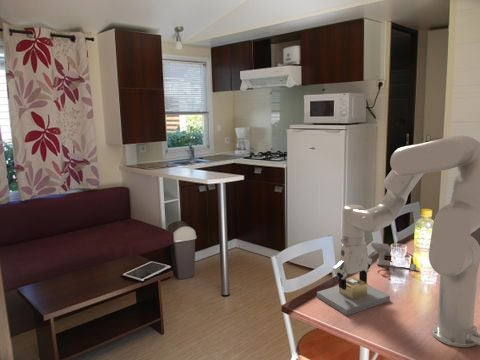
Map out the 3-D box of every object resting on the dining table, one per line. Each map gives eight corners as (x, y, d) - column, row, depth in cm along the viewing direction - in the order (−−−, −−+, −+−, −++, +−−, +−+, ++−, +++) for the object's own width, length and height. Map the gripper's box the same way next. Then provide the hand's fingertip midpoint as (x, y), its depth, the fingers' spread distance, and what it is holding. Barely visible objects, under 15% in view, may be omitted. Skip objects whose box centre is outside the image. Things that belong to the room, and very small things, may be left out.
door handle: (378, 269, 191) (368, 261, 175) (379, 251, 193) (371, 242, 177) (419, 274, 182) (413, 266, 166) (420, 256, 184) (415, 247, 168)
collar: (367, 295, 149) (367, 283, 148) (352, 299, 145) (352, 287, 145) (353, 287, 155) (353, 276, 154) (339, 292, 152) (339, 280, 151)
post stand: (389, 300, 148) (390, 282, 147) (346, 315, 139) (346, 296, 138) (357, 284, 162) (358, 267, 161) (316, 297, 153) (316, 279, 152)
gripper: (341, 247, 139) (341, 295, 142) (379, 238, 147) (378, 283, 150) (327, 241, 146) (327, 286, 149) (364, 232, 154) (363, 276, 157)
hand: (352, 285), depth 149 cm, fingers open, 9 cm apart
